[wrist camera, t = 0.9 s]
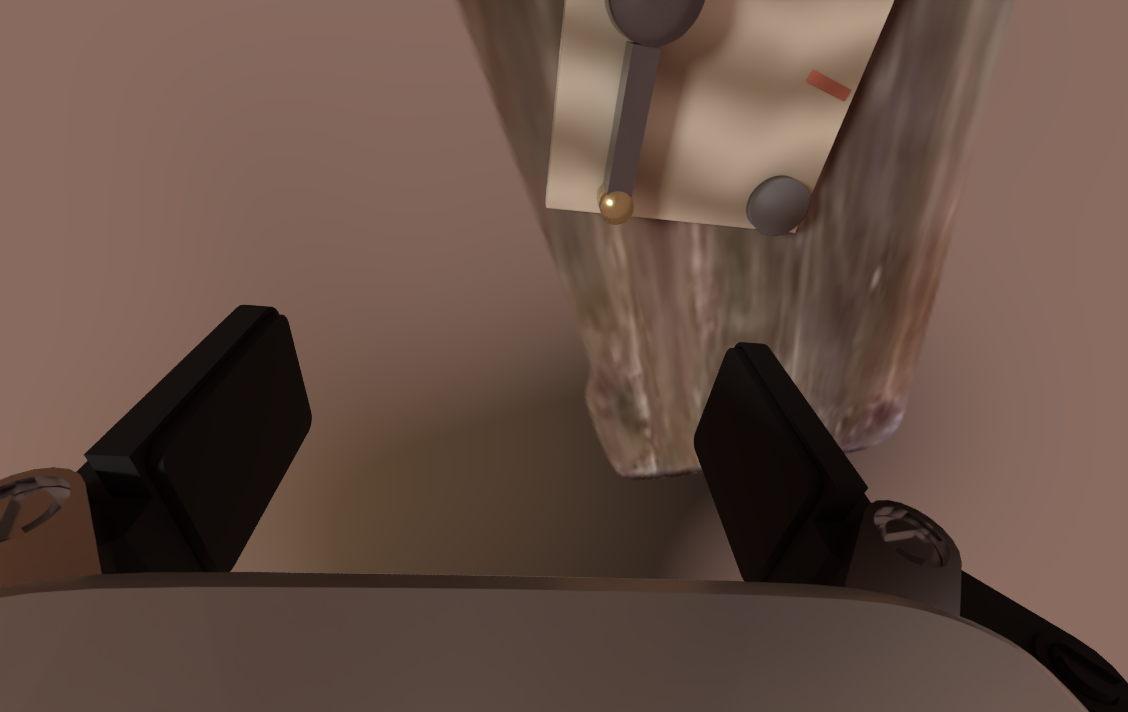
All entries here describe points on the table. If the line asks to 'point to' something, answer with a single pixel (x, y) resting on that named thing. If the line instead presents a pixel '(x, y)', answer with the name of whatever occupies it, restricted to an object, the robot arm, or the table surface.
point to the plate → (715, 109)
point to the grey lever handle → (637, 90)
